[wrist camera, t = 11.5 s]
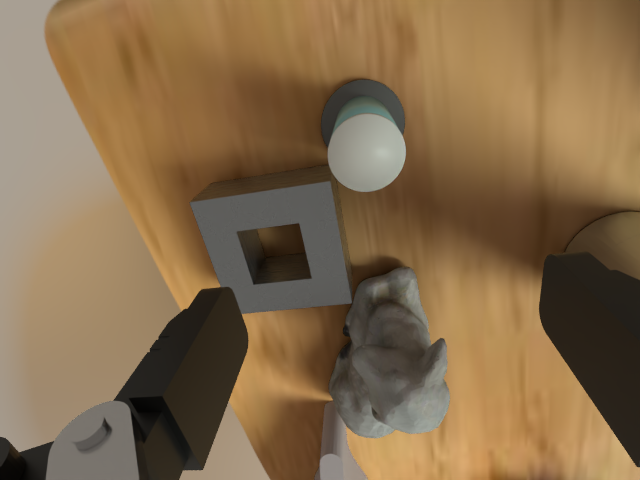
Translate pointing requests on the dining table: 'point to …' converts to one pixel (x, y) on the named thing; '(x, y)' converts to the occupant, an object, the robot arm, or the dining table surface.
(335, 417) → the grey piece
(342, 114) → the teal canister
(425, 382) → the sculpture
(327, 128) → the coaster
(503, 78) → the dining table surface
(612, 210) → the dining table surface
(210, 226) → the housing
